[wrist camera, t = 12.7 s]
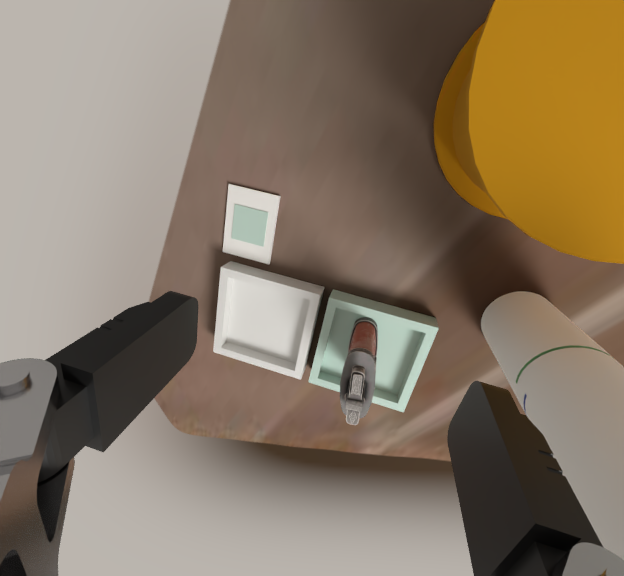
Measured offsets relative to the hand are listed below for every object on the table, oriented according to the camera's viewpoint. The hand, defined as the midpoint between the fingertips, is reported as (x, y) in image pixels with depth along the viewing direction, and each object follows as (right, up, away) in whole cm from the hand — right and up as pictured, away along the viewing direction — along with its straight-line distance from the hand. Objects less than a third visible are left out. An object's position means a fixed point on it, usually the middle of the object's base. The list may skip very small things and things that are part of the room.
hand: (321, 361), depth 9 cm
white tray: (-6, -2, +32) cm, 32 cm away
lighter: (+6, -5, +29) cm, 30 cm away
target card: (-7, +9, +28) cm, 30 cm away
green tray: (+7, -5, +30) cm, 31 cm away
